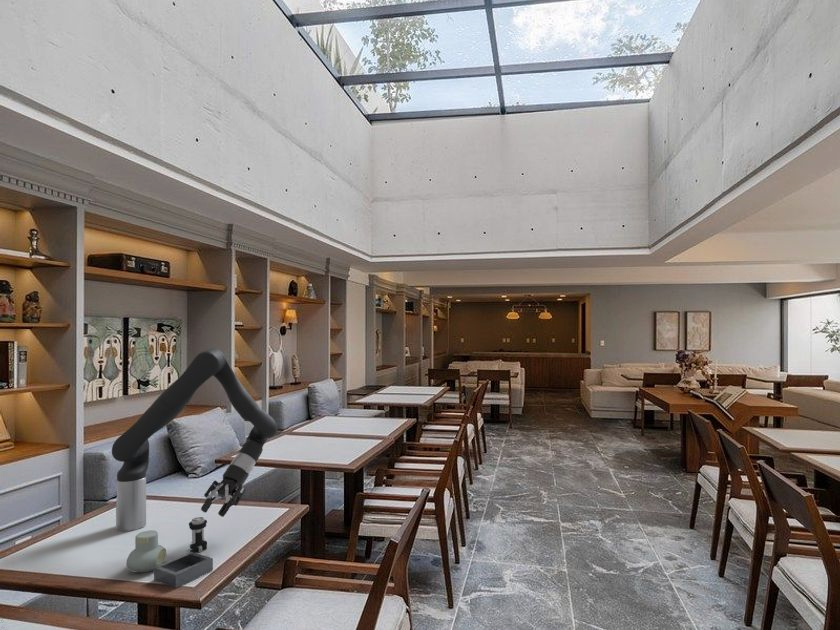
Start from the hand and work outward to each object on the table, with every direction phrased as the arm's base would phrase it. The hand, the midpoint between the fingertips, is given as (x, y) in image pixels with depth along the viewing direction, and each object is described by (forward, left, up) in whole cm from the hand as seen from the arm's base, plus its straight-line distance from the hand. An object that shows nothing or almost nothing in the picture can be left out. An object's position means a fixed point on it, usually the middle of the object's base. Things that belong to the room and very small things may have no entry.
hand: (211, 513), depth 168 cm
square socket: (+11, -18, -10) cm, 23 cm away
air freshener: (-3, -20, -10) cm, 23 cm away
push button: (0, -6, -10) cm, 12 cm away
